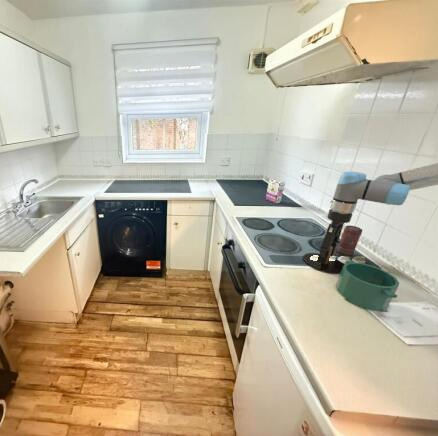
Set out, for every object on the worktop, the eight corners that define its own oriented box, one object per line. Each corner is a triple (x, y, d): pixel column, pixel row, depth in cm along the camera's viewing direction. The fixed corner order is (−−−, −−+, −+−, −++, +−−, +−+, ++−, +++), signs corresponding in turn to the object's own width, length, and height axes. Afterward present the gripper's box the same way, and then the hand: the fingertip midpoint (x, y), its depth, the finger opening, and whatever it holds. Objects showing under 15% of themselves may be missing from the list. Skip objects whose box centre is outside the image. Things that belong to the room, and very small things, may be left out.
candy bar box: (280, 203, 180) (285, 182, 174) (275, 204, 179) (279, 182, 173) (270, 199, 190) (274, 179, 184) (264, 199, 189) (268, 179, 183)
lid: (330, 256, 111) (336, 238, 108) (354, 276, 97) (361, 257, 94) (296, 254, 113) (300, 237, 109) (313, 274, 99) (320, 255, 95)
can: (355, 258, 109) (365, 231, 104) (338, 256, 111) (348, 229, 106) (349, 252, 114) (359, 226, 109) (334, 250, 116) (343, 224, 111)
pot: (361, 279, 95) (370, 259, 91) (407, 318, 77) (420, 295, 73) (323, 277, 96) (330, 257, 93) (358, 314, 78) (368, 291, 74)
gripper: (338, 202, 104) (323, 247, 113) (320, 214, 91) (305, 263, 100) (359, 207, 99) (342, 253, 107) (344, 220, 86) (326, 272, 95)
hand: (324, 258), depth 104 cm, fingers open, 9 cm apart
